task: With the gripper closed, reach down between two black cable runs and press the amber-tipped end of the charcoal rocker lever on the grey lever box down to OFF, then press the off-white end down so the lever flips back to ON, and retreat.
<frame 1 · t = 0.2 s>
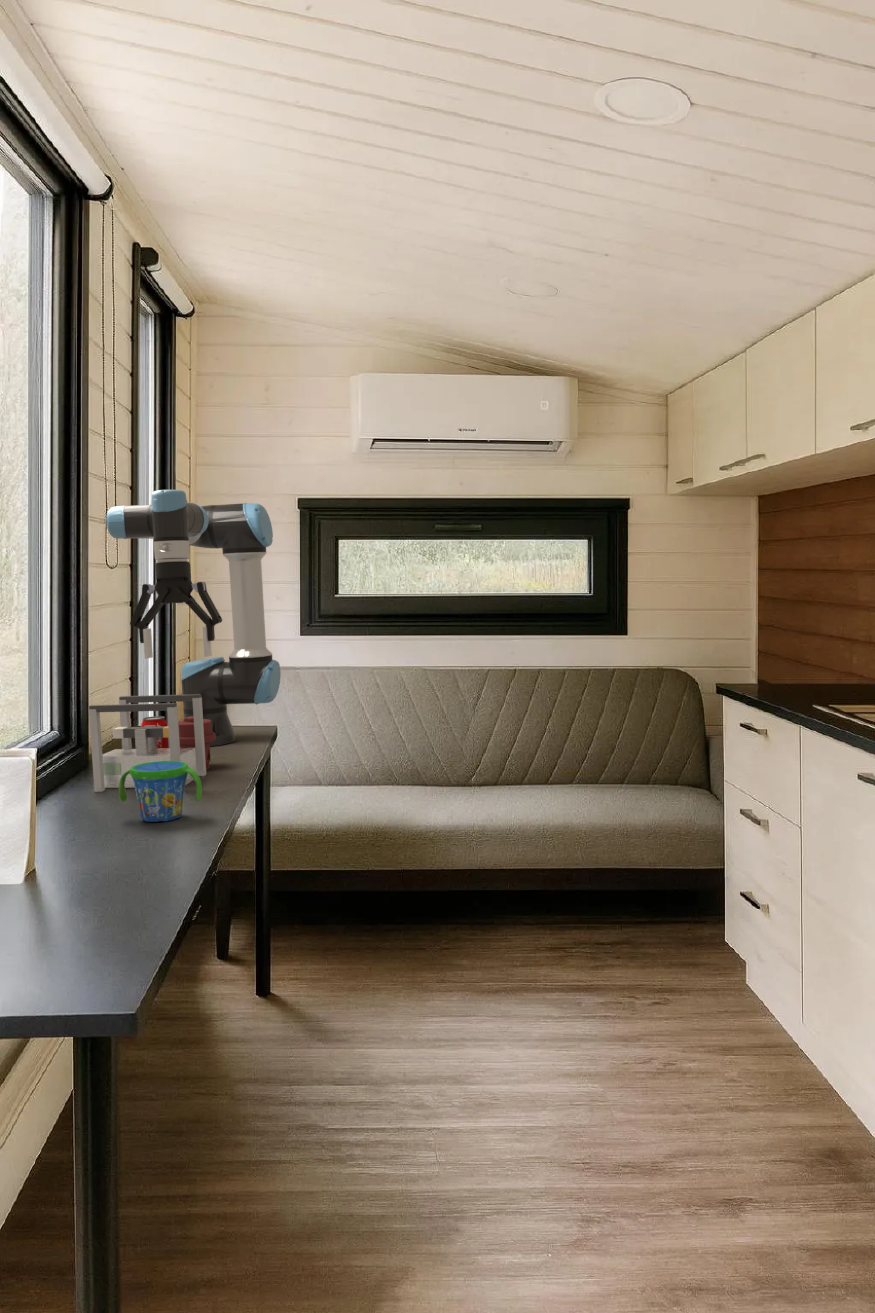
hand: (178, 657, 219), 28 cm above the table, fingers open, 13 cm apart
snack cup: (162, 819, 187), on the table
grey lever box: (149, 783, 220), on the table
soda can: (156, 767, 240), on the table
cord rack: (149, 783, 220), on the table
mechanical component: (196, 769, 236), on the table
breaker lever: (145, 732, 219), point 12 cm above the table, hinge at 0.0°
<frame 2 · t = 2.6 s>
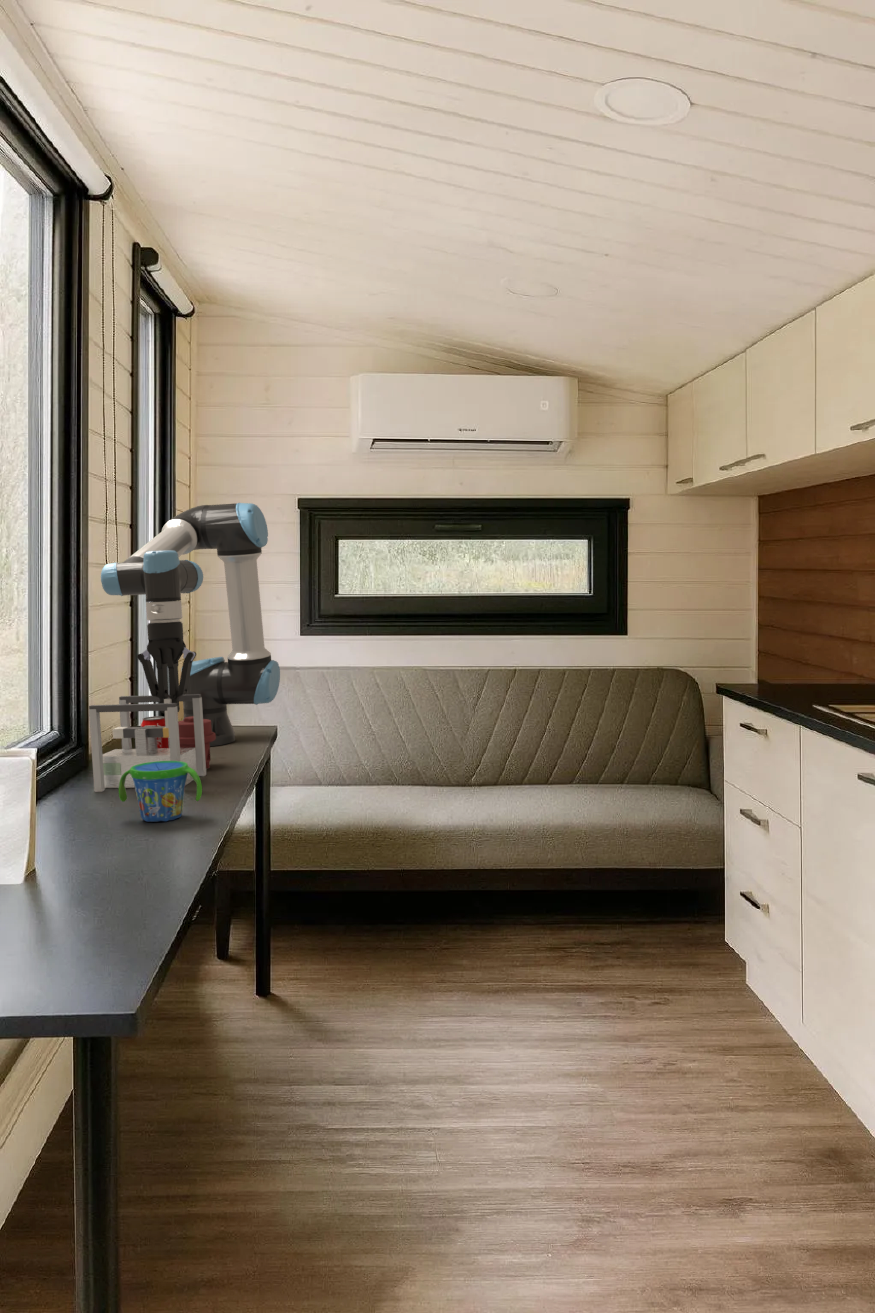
hand: (171, 727, 219), 12 cm above the table, fingers closed
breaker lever: (145, 732, 219), point 12 cm above the table, hinge at -0.1°, touching gripper
everything else where it was.
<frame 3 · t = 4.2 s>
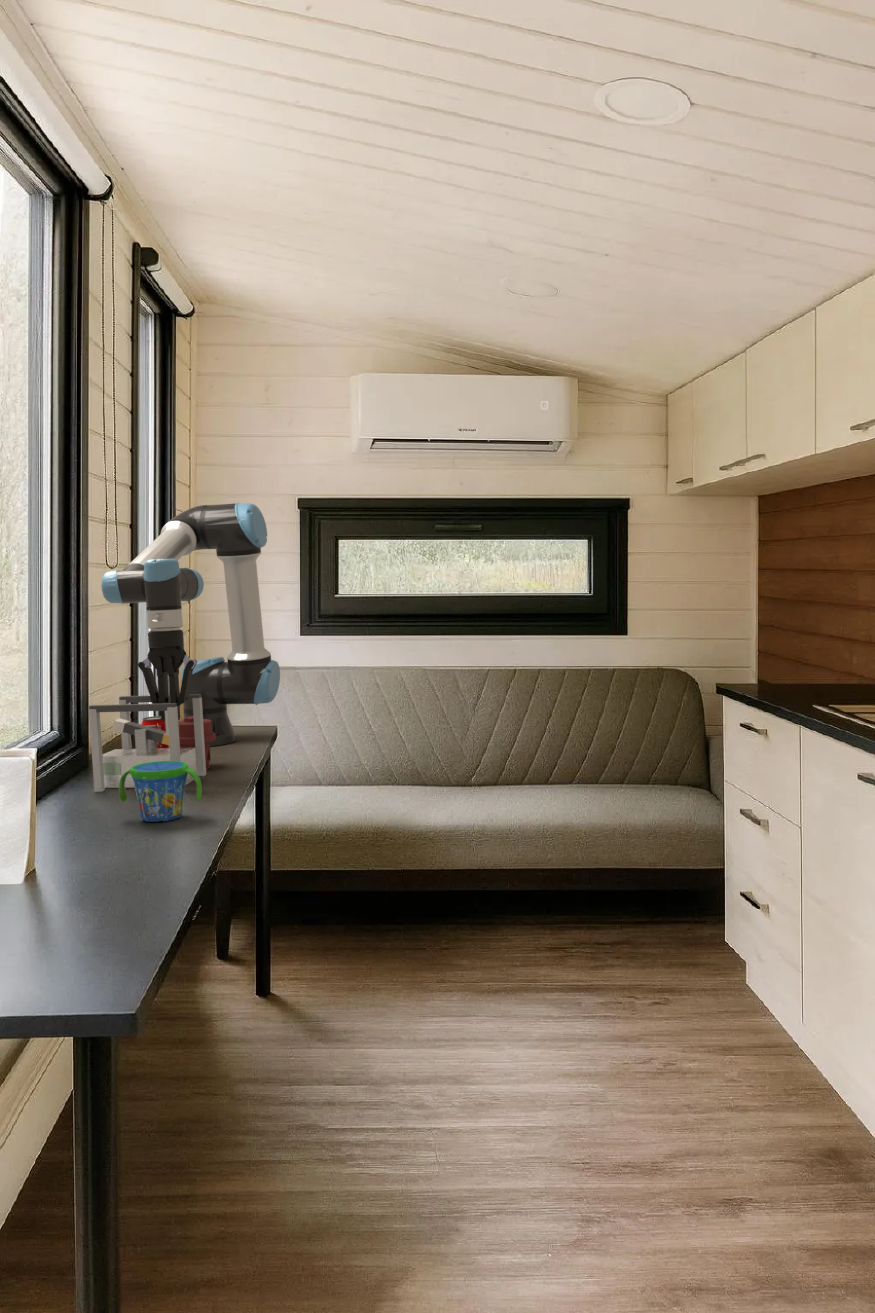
hand: (171, 735, 219), 11 cm above the table, fingers closed
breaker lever: (145, 732, 219), point 12 cm above the table, hinge at -16.6°, touching gripper
everything else where it was.
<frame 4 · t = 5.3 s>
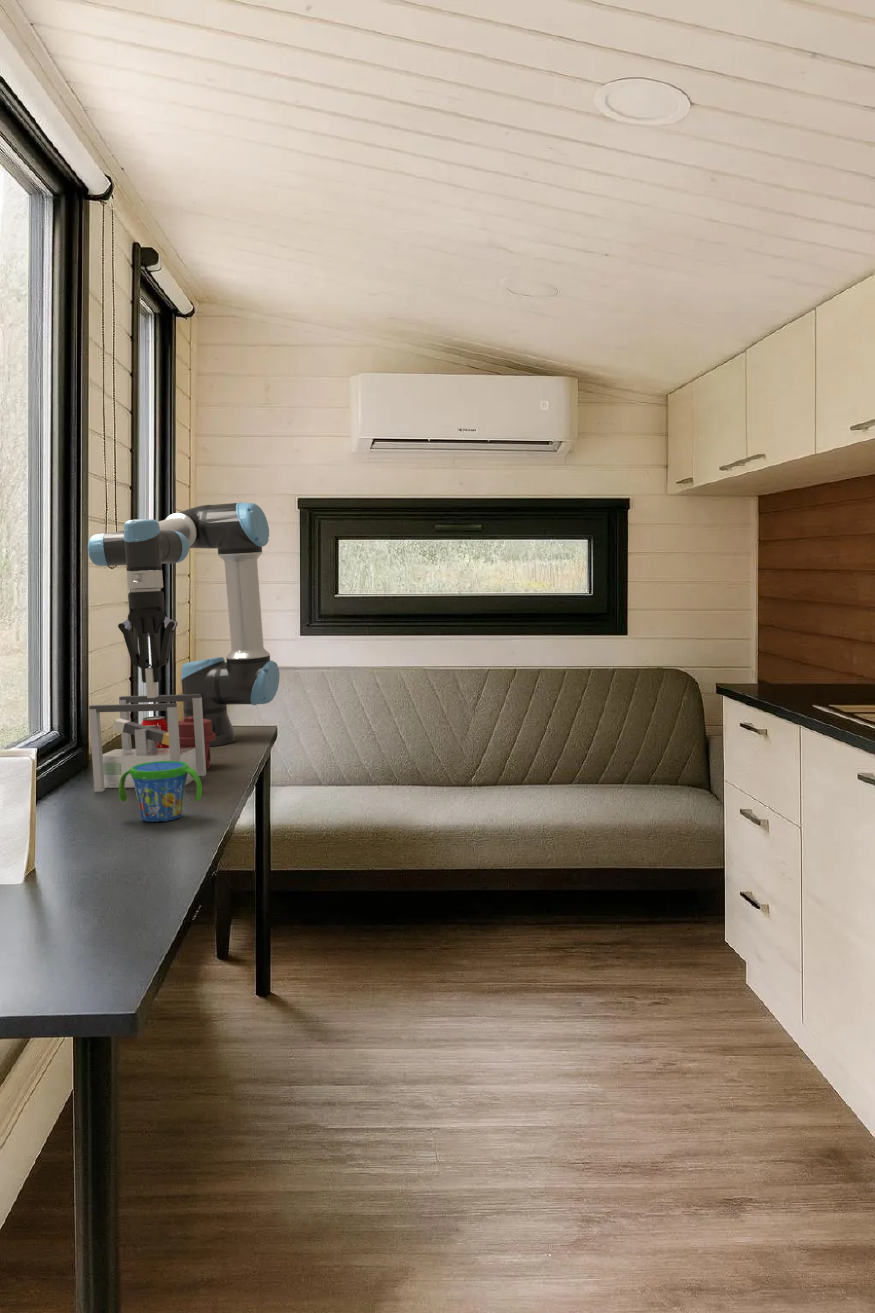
hand: (152, 697, 219), 19 cm above the table, fingers closed
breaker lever: (145, 732, 219), point 12 cm above the table, hinge at -16.7°
everything else where it was.
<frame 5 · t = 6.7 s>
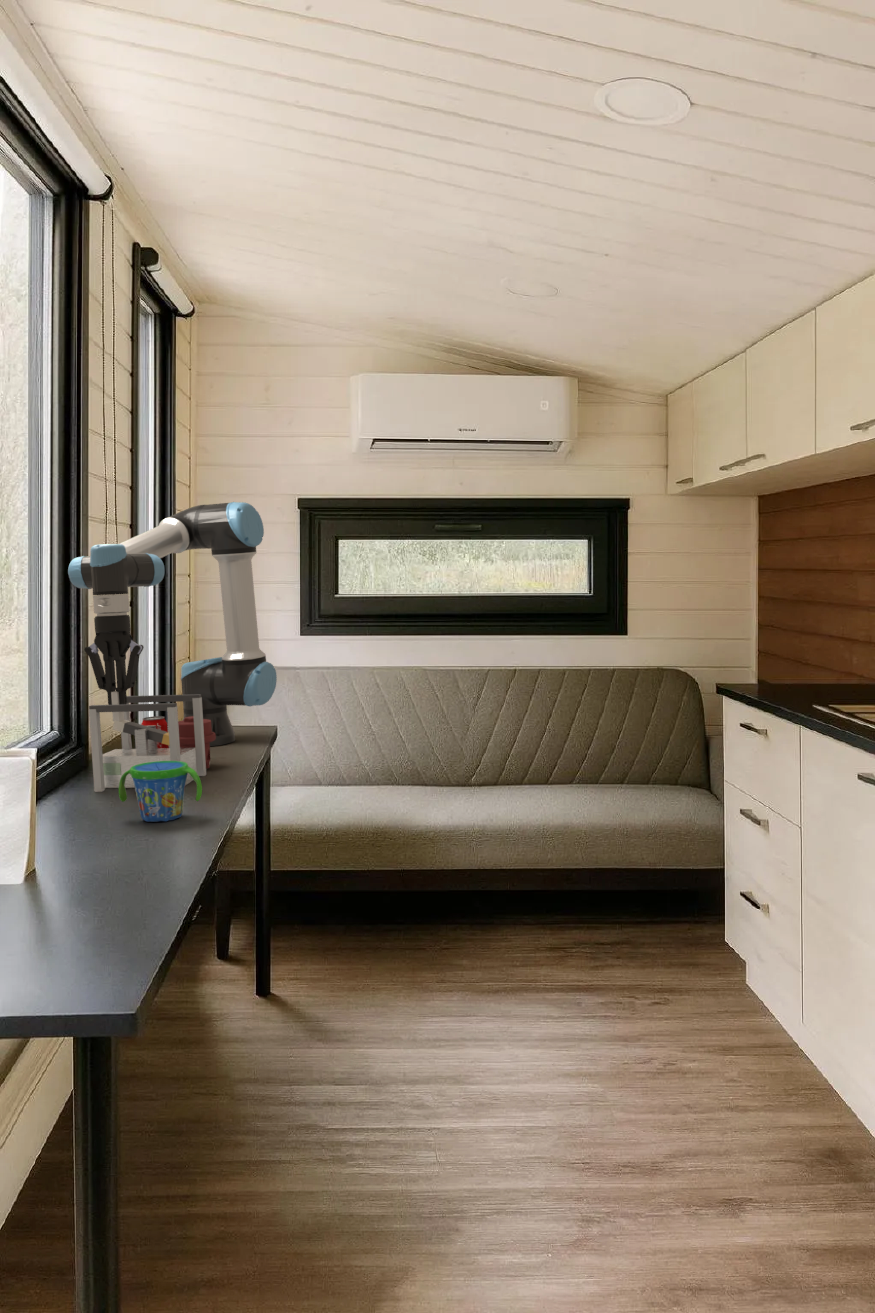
hand: (118, 720, 220), 14 cm above the table, fingers closed
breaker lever: (145, 732, 219), point 12 cm above the table, hinge at -16.7°, touching gripper
everything else where it was.
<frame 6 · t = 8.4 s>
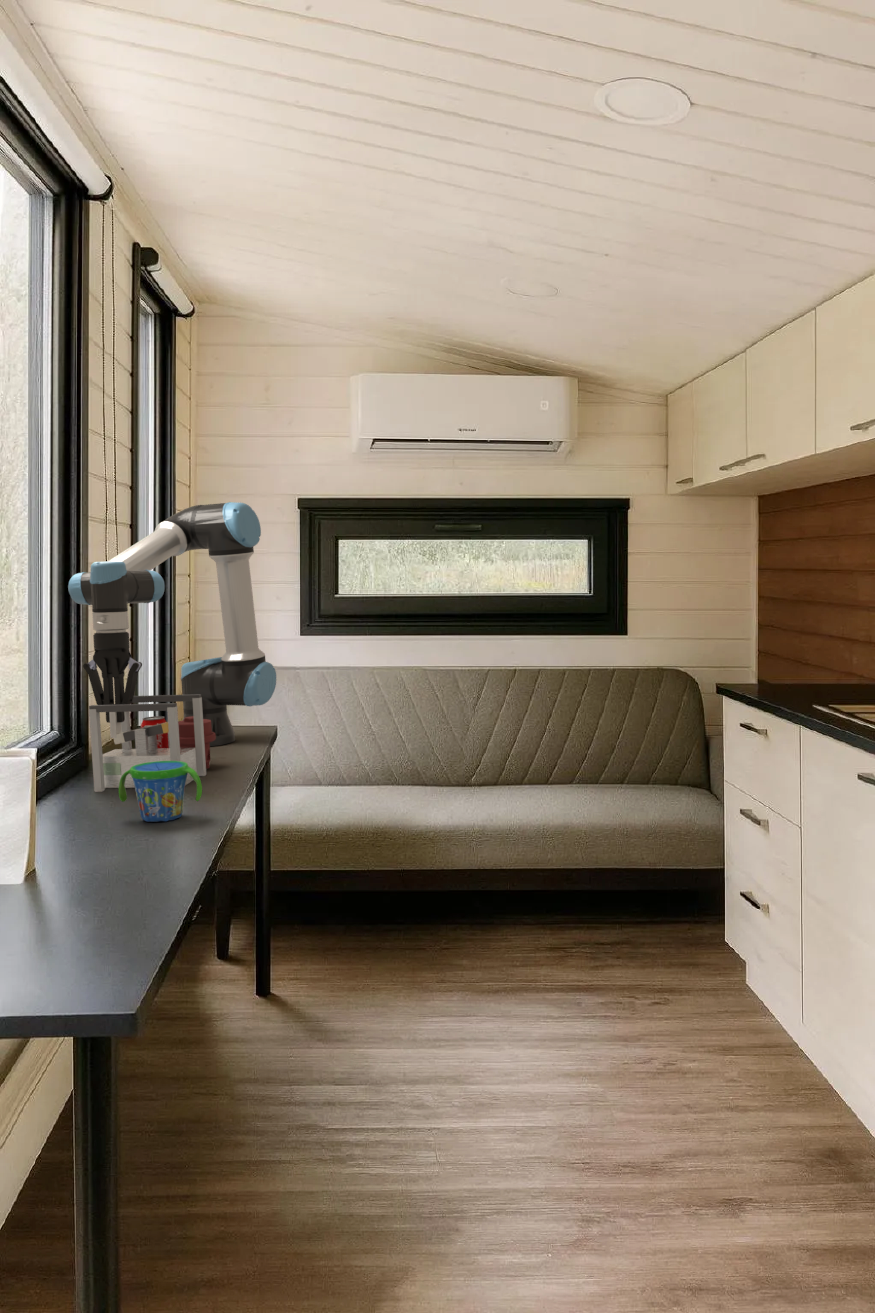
hand: (116, 736, 220), 11 cm above the table, fingers closed
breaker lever: (145, 732, 219), point 12 cm above the table, hinge at 11.3°, touching gripper
everything else where it was.
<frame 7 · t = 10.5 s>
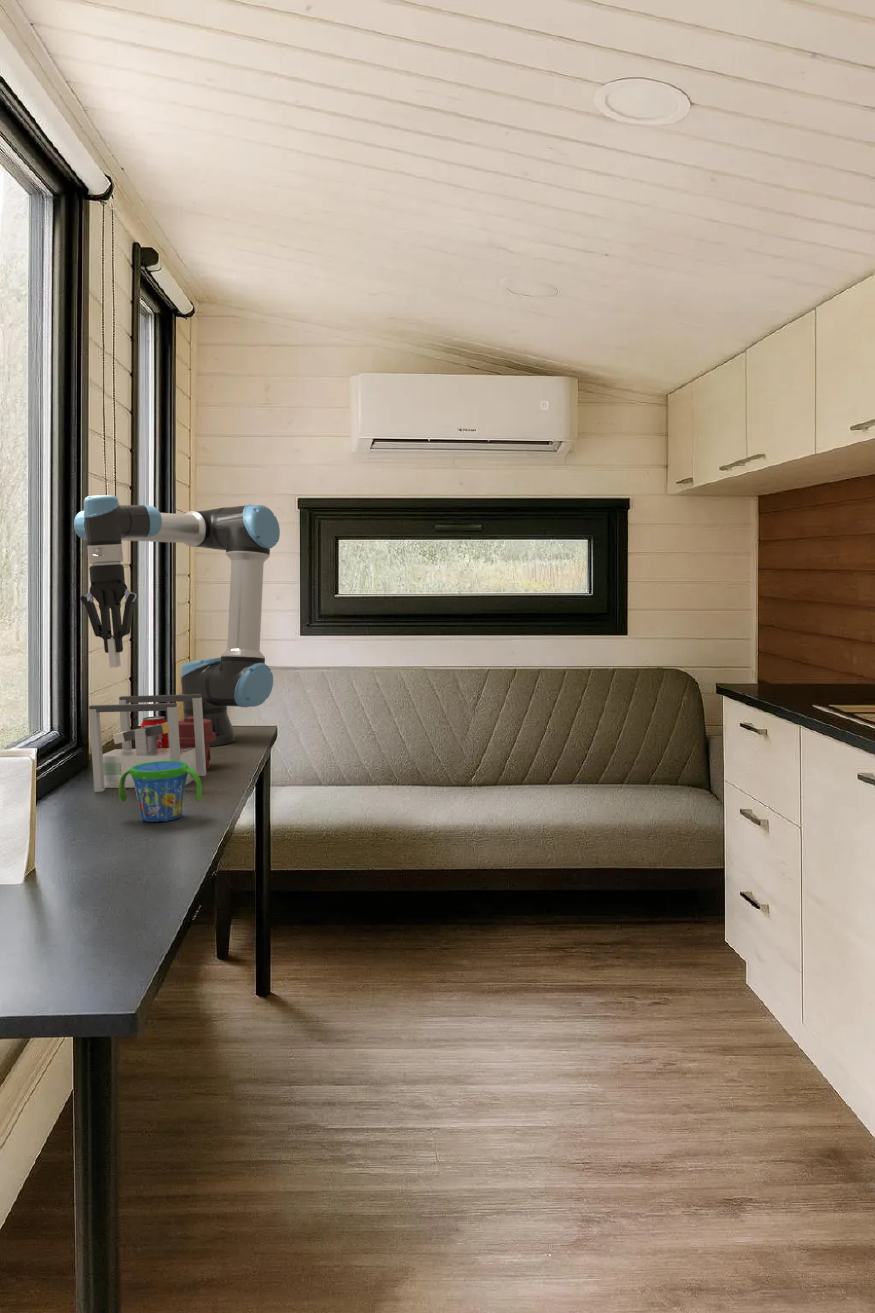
hand: (115, 666, 228), 26 cm above the table, fingers closed
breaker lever: (145, 732, 219), point 12 cm above the table, hinge at 10.4°
everything else where it was.
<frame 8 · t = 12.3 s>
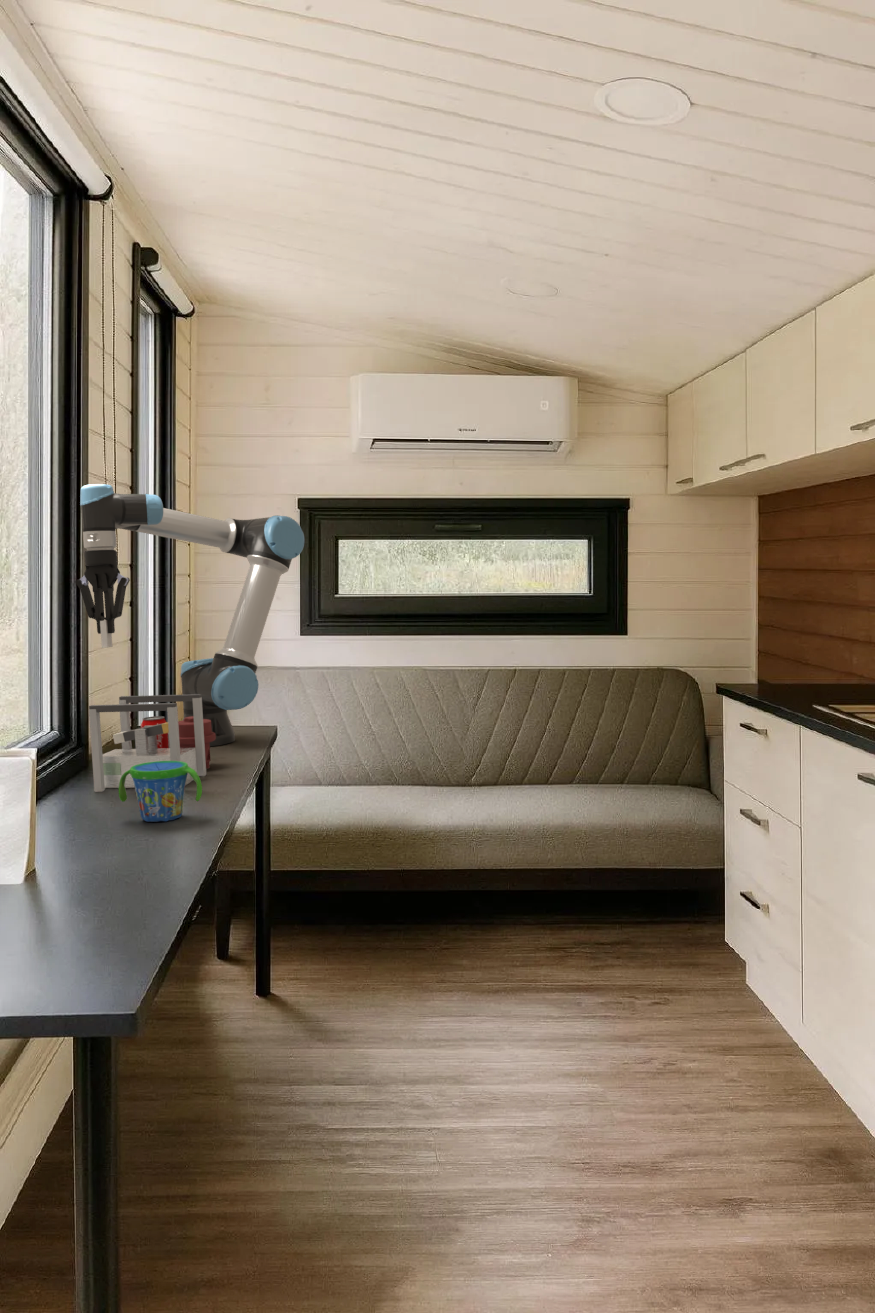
hand: (107, 647, 240), 29 cm above the table, fingers closed
nothing on the table moved.
at the end: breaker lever at +10° (first picture: +0°) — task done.
